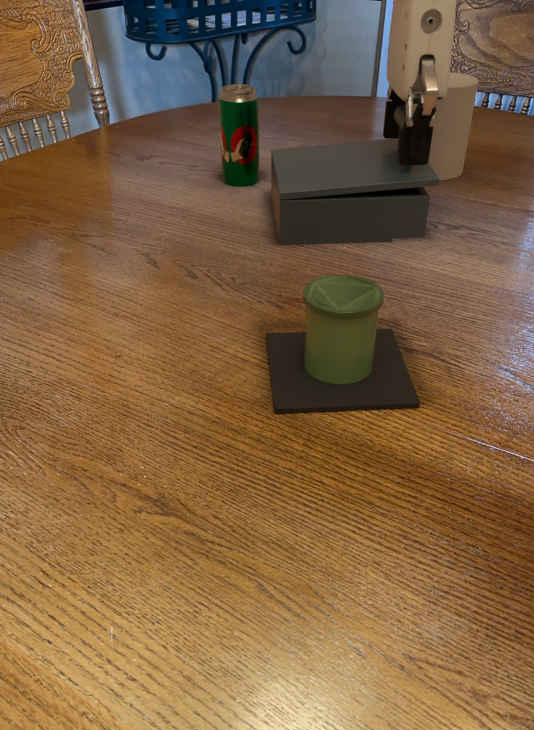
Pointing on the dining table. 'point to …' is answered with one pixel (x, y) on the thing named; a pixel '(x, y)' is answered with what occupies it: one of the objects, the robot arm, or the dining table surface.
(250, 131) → the soda can
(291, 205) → the grey storage tray
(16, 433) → the dining table surface
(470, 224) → the dining table surface
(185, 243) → the dining table surface
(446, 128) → the beige cylinder
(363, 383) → the plate
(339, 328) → the pot
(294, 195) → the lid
